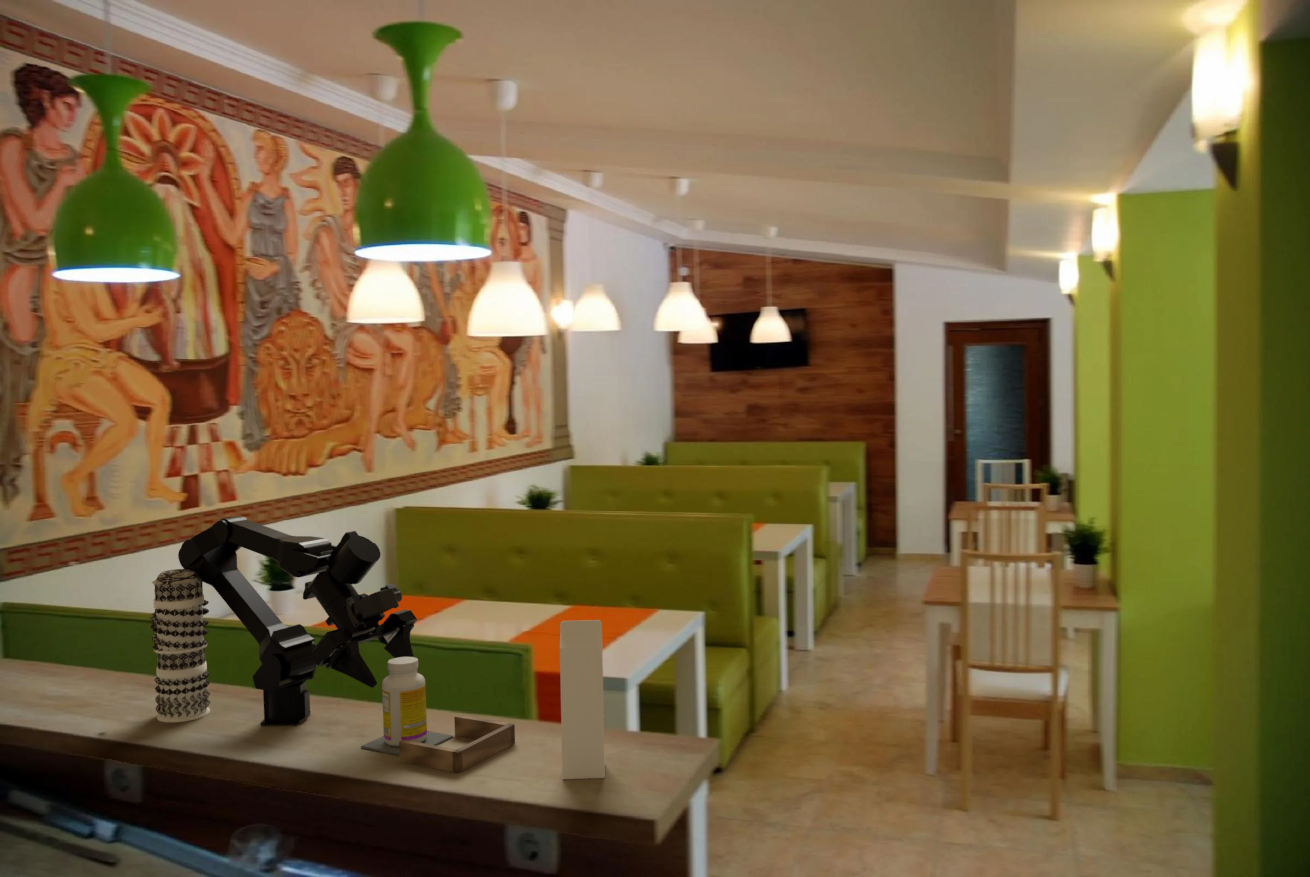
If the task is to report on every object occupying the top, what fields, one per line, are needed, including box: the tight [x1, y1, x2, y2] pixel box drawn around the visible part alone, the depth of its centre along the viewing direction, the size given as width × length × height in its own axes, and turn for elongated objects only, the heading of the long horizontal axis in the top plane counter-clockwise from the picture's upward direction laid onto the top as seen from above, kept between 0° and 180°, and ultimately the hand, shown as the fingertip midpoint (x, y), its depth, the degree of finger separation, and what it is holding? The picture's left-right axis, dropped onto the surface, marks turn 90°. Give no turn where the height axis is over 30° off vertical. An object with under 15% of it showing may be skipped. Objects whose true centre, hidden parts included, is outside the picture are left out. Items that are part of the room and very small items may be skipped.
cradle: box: [399, 714, 516, 774], centre depth 159 cm, size 11×14×3 cm
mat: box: [360, 730, 454, 756], centre depth 164 cm, size 10×10×1 cm
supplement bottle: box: [381, 656, 428, 747], centre depth 164 cm, size 7×7×13 cm
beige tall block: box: [559, 619, 606, 780], centre depth 150 cm, size 6×6×22 cm
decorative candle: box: [149, 568, 211, 723], centre depth 180 cm, size 9×9×25 cm
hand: (395, 678), depth 165 cm, fingers open, 9 cm apart
